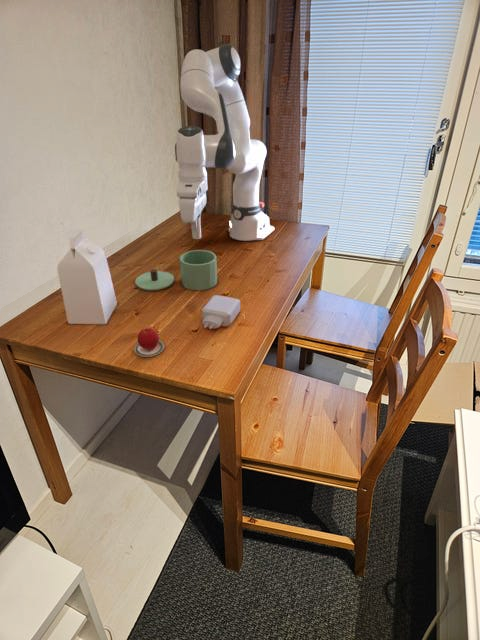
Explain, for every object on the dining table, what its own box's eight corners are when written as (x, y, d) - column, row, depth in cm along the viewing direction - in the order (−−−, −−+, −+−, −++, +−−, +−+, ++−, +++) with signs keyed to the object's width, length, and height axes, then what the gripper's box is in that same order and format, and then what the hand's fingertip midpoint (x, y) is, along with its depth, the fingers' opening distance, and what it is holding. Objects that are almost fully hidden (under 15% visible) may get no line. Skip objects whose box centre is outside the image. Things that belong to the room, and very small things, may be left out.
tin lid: (156, 270, 154) (154, 259, 151) (182, 281, 147) (181, 269, 145) (127, 284, 145) (125, 272, 142) (153, 295, 138) (152, 283, 135)
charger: (193, 332, 120) (213, 307, 132) (222, 338, 117) (240, 312, 129) (192, 318, 118) (212, 294, 129) (222, 324, 115) (240, 299, 127)
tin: (198, 270, 154) (196, 247, 149) (224, 280, 148) (223, 255, 142) (174, 283, 146) (171, 258, 140) (200, 293, 139) (199, 268, 134)
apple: (128, 354, 111) (125, 334, 108) (144, 338, 117) (141, 319, 114) (154, 360, 109) (151, 341, 105) (169, 344, 115) (167, 324, 111)
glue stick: (196, 235, 139) (195, 210, 135) (203, 237, 138) (202, 212, 133) (190, 237, 137) (188, 212, 133) (197, 239, 136) (195, 214, 131)
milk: (82, 303, 134) (63, 226, 120) (117, 303, 134) (102, 226, 120) (68, 323, 124) (46, 242, 110) (105, 324, 124) (88, 242, 109)
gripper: (191, 175, 137) (194, 216, 145) (174, 193, 120) (178, 237, 128) (209, 176, 136) (211, 217, 144) (195, 193, 119) (198, 238, 127)
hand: (196, 227), depth 136 cm, fingers closed on glue stick, 3 cm apart
